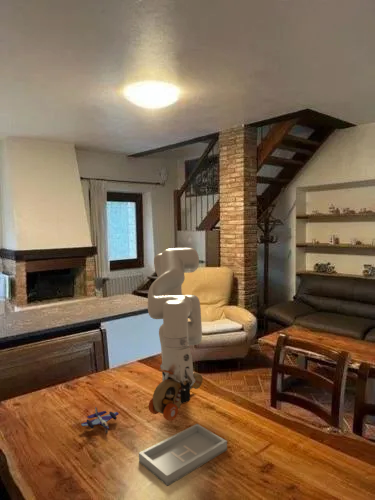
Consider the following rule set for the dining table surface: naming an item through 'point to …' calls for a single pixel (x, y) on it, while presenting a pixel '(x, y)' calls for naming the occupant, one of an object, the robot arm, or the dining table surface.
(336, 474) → the dining table surface
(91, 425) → the toy airplane
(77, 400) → the dining table surface
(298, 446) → the dining table surface
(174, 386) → the toy helicopter
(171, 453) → the tray
